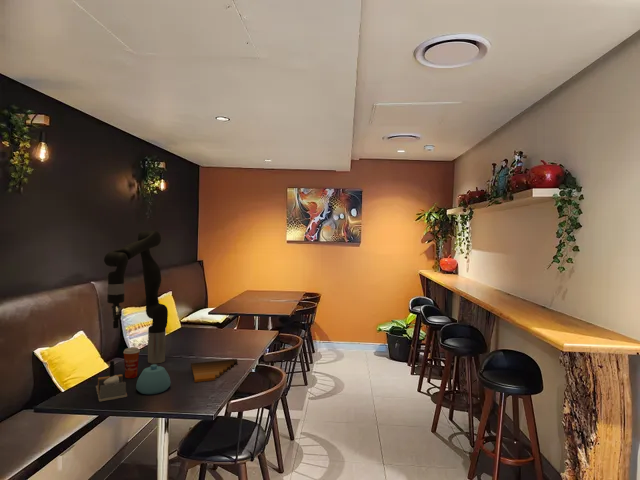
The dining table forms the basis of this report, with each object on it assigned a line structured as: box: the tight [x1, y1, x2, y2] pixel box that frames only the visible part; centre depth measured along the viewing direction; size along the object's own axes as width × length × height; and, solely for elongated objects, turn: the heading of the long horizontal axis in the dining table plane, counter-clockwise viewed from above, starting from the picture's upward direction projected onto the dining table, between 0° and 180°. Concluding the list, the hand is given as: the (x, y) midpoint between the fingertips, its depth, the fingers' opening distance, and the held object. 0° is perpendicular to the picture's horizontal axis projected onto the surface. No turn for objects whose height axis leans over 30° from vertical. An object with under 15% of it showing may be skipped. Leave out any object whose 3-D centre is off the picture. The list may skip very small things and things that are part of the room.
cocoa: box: [104, 360, 119, 385], centre depth 186 cm, size 10×6×12 cm, turn 4°
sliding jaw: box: [97, 374, 124, 390], centre depth 190 cm, size 2×10×5 cm, turn 123°
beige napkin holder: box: [95, 381, 128, 402], centre depth 187 cm, size 19×11×6 cm, turn 33°
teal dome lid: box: [135, 363, 171, 395], centre depth 191 cm, size 15×15×12 cm
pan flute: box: [190, 358, 238, 383], centre depth 217 cm, size 25×3×25 cm
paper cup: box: [123, 347, 141, 379], centre depth 208 cm, size 8×8×14 cm
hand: (115, 327), depth 200 cm, fingers closed
